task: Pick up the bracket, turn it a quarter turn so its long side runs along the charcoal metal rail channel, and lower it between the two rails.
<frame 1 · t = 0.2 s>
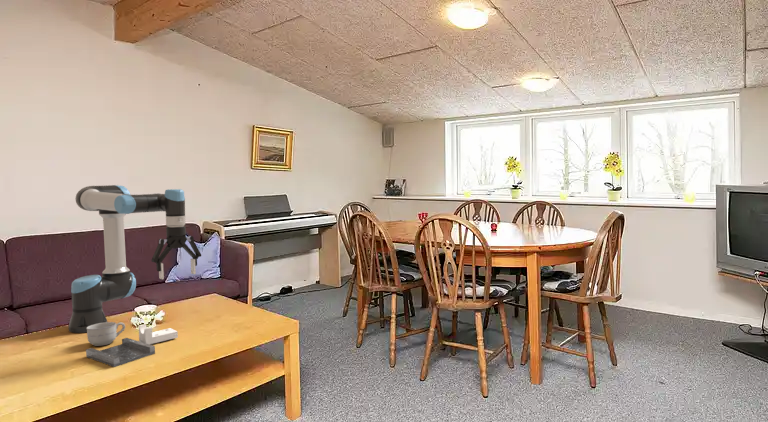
hand: (177, 276, 208), 27 cm above the table, tool pointing down, fingers open, 13 cm apart
teacup: (106, 343, 204), on the table
bracket: (158, 342, 207), on the table
rail channel: (121, 355, 190), on the table
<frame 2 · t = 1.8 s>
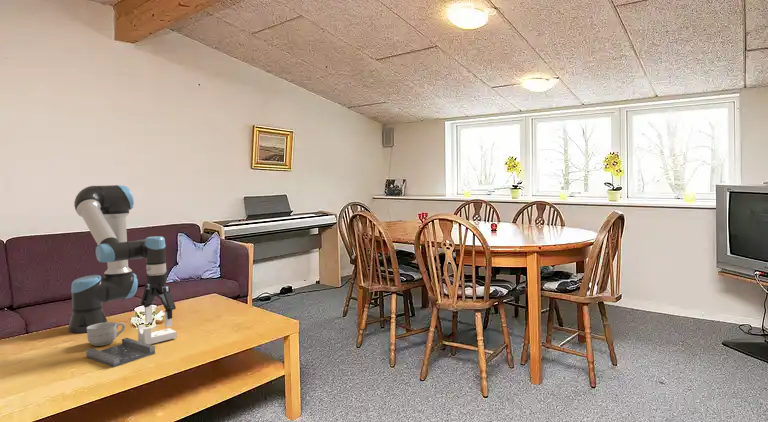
hand: (158, 324, 206), 7 cm above the table, tool pointing down, fingers open, 13 cm apart
nothing on the table moved.
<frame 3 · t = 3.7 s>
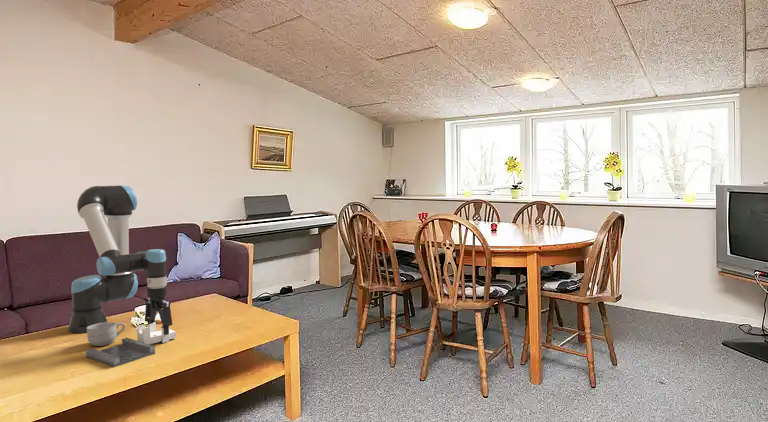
hand: (159, 340, 207), 0 cm above the table, tool pointing down, fingers open, 8 cm apart
nothing on the table moved.
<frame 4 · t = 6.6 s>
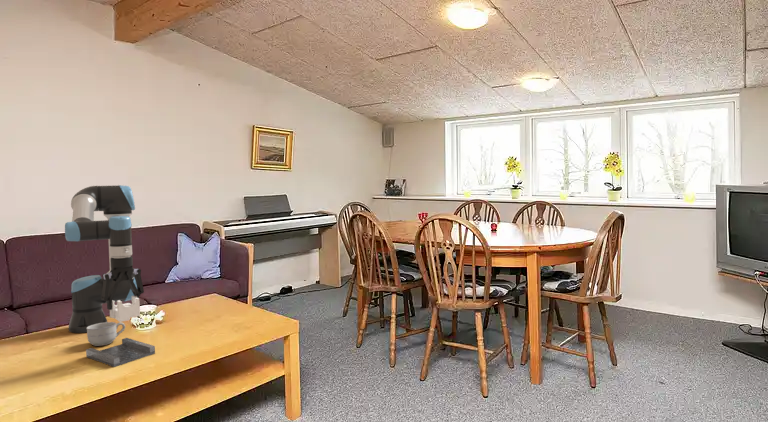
hand: (124, 314, 191), 15 cm above the table, tool pointing down, fingers closed on bracket, 8 cm apart
bracket: (124, 317, 190), point 15 cm above the table, touching gripper
everything else where it was.
when the fingers open (3 cm above the table, at t = 9.2 s): bracket drops 2 cm, resting on rail channel.
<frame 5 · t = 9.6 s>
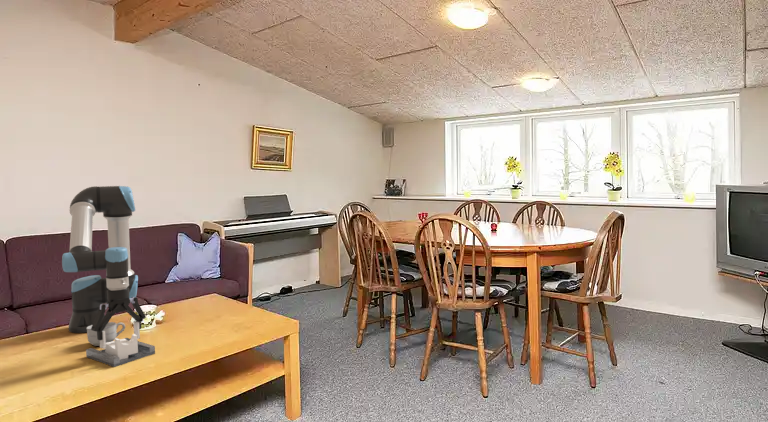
hand: (120, 342, 190), 5 cm above the table, tool pointing down, fingers open, 13 cm apart
bracket: (121, 354, 189), point 1 cm above the table, touching rail channel
everything else where it was.
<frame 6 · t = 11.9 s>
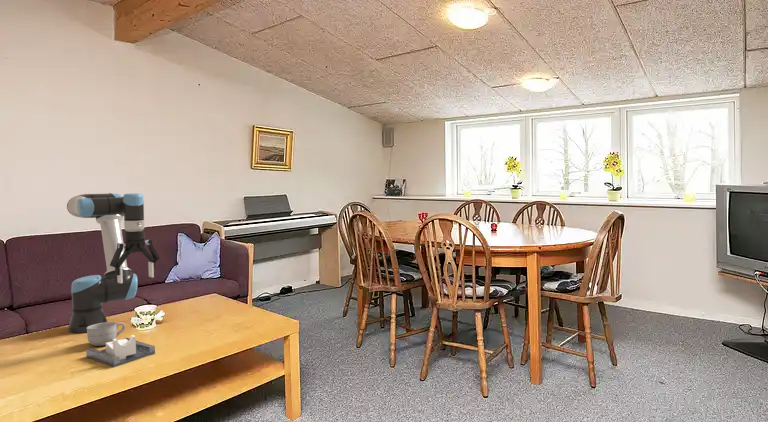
hand: (136, 279, 209), 25 cm above the table, tool pointing down, fingers open, 13 cm apart
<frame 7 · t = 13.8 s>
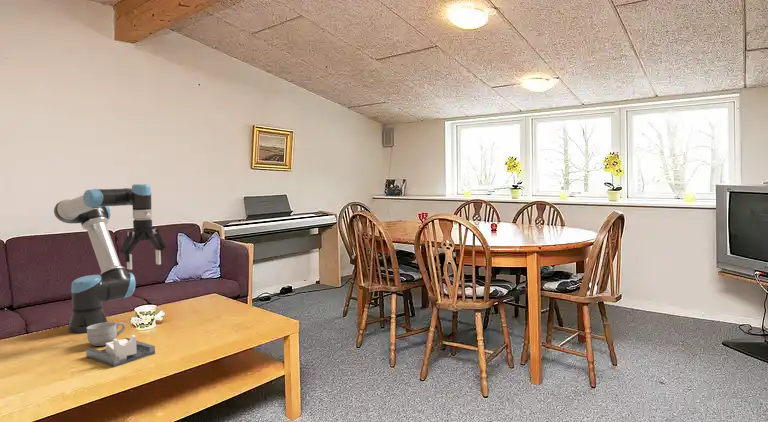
hand: (144, 266, 219), 29 cm above the table, tool pointing down, fingers open, 13 cm apart
nothing on the table moved.
at the end: bracket 1.4 cm off-centre on the rail channel, point 0.8 cm above the rail channel's base; bracket tilted 0°; the gripper is holding nothing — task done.
